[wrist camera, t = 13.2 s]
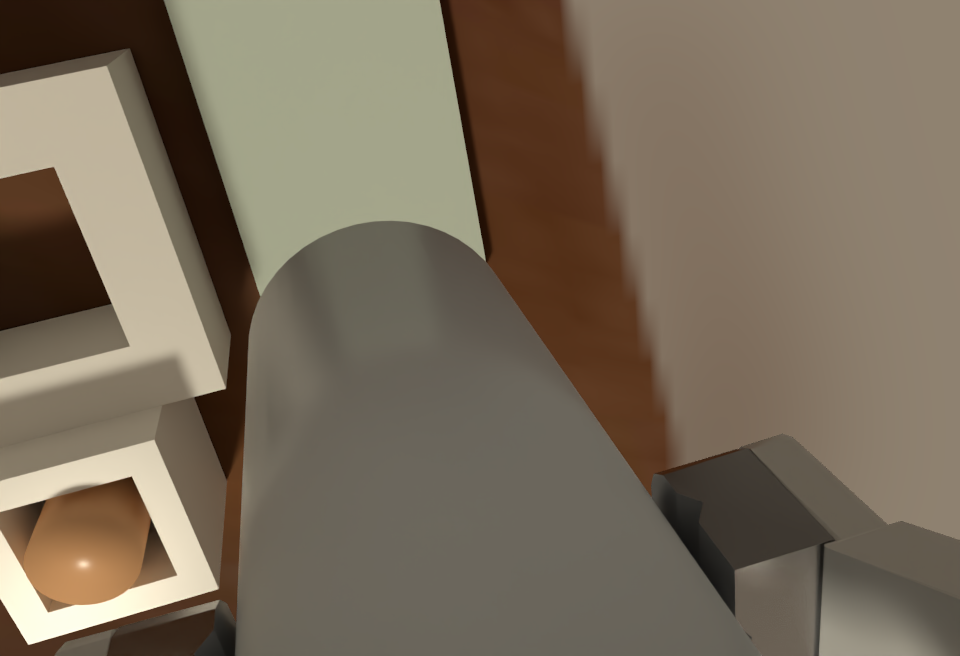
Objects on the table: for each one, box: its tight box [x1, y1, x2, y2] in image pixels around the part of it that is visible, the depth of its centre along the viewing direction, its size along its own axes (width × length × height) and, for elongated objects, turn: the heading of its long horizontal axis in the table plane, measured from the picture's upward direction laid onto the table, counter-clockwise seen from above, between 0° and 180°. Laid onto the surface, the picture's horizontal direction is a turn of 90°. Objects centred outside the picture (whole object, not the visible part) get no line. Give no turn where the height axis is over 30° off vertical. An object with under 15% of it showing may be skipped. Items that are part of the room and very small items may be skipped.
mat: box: [164, 0, 486, 297], centre depth 27 cm, size 12×8×1 cm, turn 10°
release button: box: [23, 476, 151, 605], centre depth 26 cm, size 3×3×4 cm
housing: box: [0, 48, 231, 645], centre depth 25 cm, size 16×10×6 cm, turn 10°
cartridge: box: [235, 221, 762, 656], centre depth 8 cm, size 5×5×12 cm
